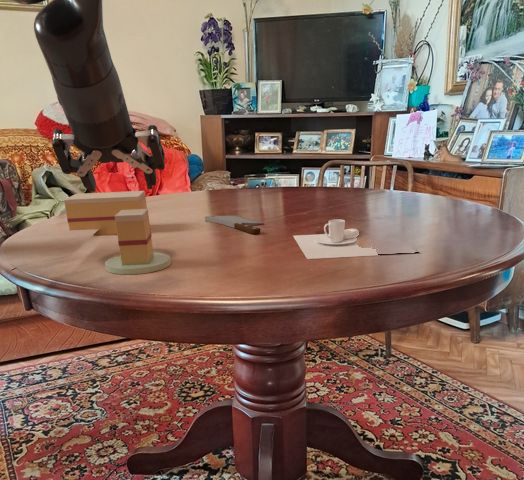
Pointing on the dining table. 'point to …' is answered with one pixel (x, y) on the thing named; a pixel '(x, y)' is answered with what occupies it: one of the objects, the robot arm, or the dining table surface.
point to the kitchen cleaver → (236, 223)
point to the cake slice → (134, 236)
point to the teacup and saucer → (333, 243)
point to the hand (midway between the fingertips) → (121, 185)
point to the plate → (138, 265)
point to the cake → (101, 209)
